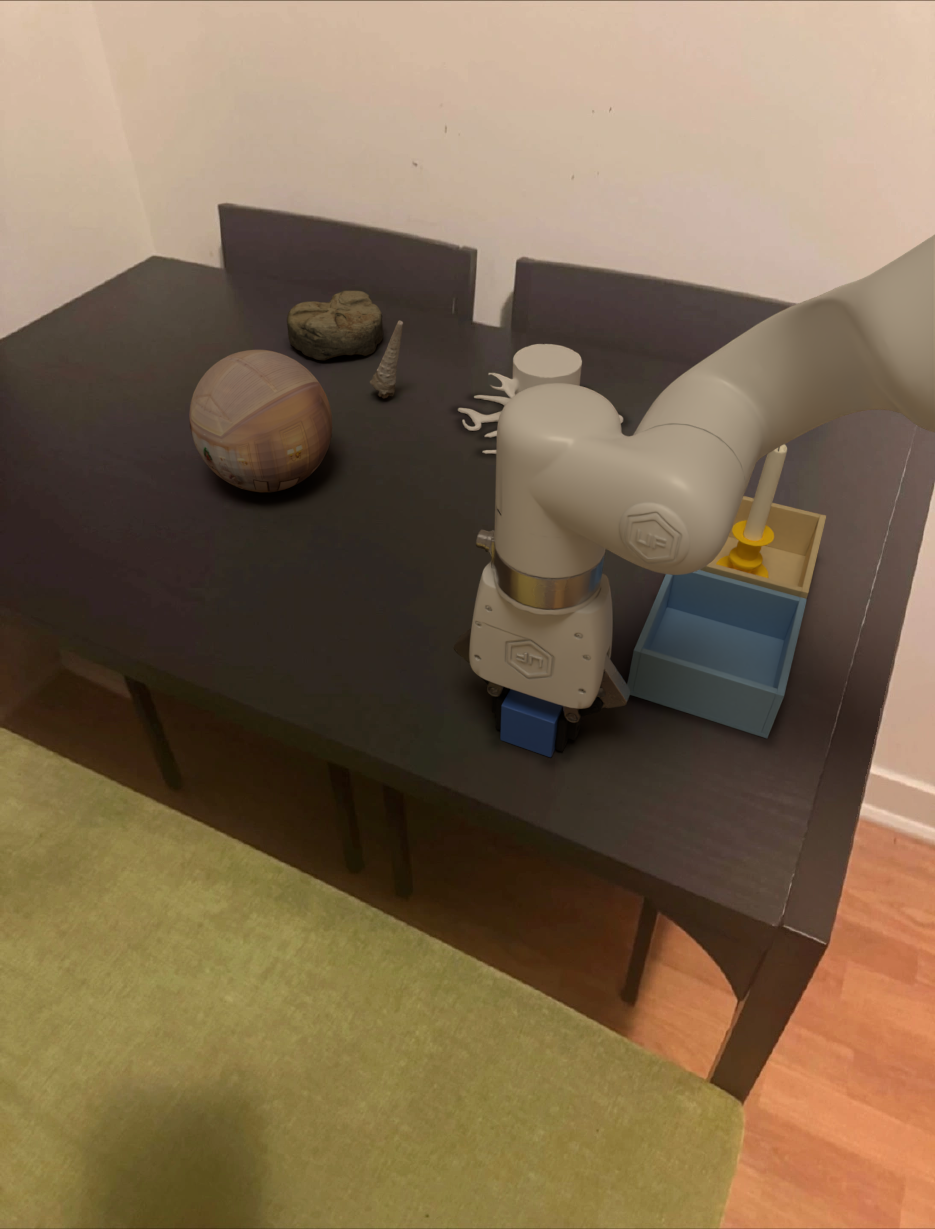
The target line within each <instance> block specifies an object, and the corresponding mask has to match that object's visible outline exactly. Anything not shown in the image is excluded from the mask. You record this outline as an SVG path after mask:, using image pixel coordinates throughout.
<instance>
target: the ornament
mask: <svg viewBox="0 0 935 1229" xmlns="http://www.w3.org/2000/svg"><path fill="white" fill-rule="evenodd" d="M188 414H189V416H188V417H189V418H188V419H189V429H190V430H189V431H190V435H191V437H192V441H193V444H194V447H195V448H196V451H197V453H198V454H199V456H200V458H201V459H202V461H203V462H204V463H205V464H206V466H207V467H208V468H209V469H210V470H211V471H212V472H213V473H214V474H215V475H216V476H218V477H219V478H220V479H222V480H223V481H224V482H226V483H228V484H230V485H232V486H234V487H236V488H239V489H242V490H246V491H250V492H254V493H274V492H279V491H284V490H286V489H287V490H288V489H289V488H292V487H295V486H296V485H299V484H300V483H302V482H303V481H305V480H307V479H308V478H309V477H310V476H311V475H312V474H313V473H314V472H315V471H316V470H317V469H318V467H319V466H320V464H321V463H322V462H323V460H324V459H325V456H326V454H327V452H328V450H329V448H330V443H331V440H332V435H333V434H332V432H333V415H332V409H331V405H330V402H329V400H328V396H327V393H326V392H325V391H324V388H323V387H322V385H321V383H320V382H319V381H318V379H317V378H316V376H315V375H314V374H313V373H312V372H311V371H310V370H309V369H308V368H306V367H305V366H304V365H303V364H301V363H300V362H299V361H297V360H296V359H294V358H293V357H290V356H288V355H286V354H283V353H280V352H278V351H277V352H276V351H274V350H273V351H272V350H266V349H248V350H243V351H238V352H235V353H232V354H229V355H227V356H225V357H223V358H221V359H220V360H218V361H217V362H215V363H214V364H213V365H212V366H211V367H210V368H209V369H208V370H207V371H205V373H204V374H203V376H202V377H201V378H200V380H199V381H198V383H197V385H196V387H195V389H194V391H193V394H192V397H191V400H190V405H189V412H188Z"/></svg>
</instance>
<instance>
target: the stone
mask: <svg viewBox="0 0 935 1229" xmlns="http://www.w3.org/2000/svg"><path fill="white" fill-rule="evenodd" d="M286 325H287V326H286V327H287V336H288V337H287V338H288V341H289V344H290V345H291V346H292V347H294V349H296V350H297V351H300V352H301V353H302V354H303V355H304V356H306V357H308V358H313V359H314V360H318V361H327V360H330V359H332V358H335V357H340V356H354V355H361V356H364V357H365V356H369V355H372V354H373V353H375V351H376V349H377V345H378V344H380V343H381V342H382V340H383V336H384V335H383V333H384V328H383V326H384V324H383V313H382V311H381V309H380V308H379V307H378V305H377V304H375V303H373V300H372V298H371V295H369V294H368V293H366V292H364V291H361V290H343V291H341V292H340V291H339V292H337V293H335V294H333V295H332V296H331V299H330V300H329V301H327V302H326V301H325V302H324V301H322V302H319V301H303V302H300V303H297V304H295V305H294V306H293V307H292V308H291V309H290V310H289V311H288V312H287V315H286Z"/></svg>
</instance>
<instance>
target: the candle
mask: <svg viewBox="0 0 935 1229" xmlns="http://www.w3.org/2000/svg"><path fill="white" fill-rule="evenodd" d="M787 452H788V447H787V445H786V444H784V445H782V446H780V447H779V448H777V449H775V450H773V451H772V452H770V453H768V454H767V455H766V457H765V460H764V464H763V466H762V470H761V474H760V476H759V480H758V484H757V487H756V490H755V492H754V493H755V494H754V497H753V498H754V500H753V503H752V507H751V510H750V513H749V517H748V520H744V521H740V522H738V523H736V524H735V525H734V526H733V528H732V533H733V535H734V537H735V538H736V539H737V540H738V543H737V547H735V548H733V549H732V550H731V551H730V553H729V555H728V556H724V557H722V558H720V559H719V560H718V561H717V562H716V565H720V566H724V567H728V568H731V569H735V570H739V571H743V572H746V573H750V574H754V575H758V576H761V577H765V578H769V574H768V571H767V569H766V567H765V566H764V565H763V564H762V561H763V557H762V555H761V553H760V551H761V546H765V545H768V544H770V543H771V542H772V541H773V539H774V533H773V531H772V530H771V529H770V527H768V526H767V525H766V522H767V518H768V515H769V512H770V508H771V505H772V503H774V502H773V501H774V498H775V494H776V493H777V492H776V491H777V489H778V484H779V482H780V478H781V475H782V470H783V468H784V465H785V461H786V457H787Z"/></svg>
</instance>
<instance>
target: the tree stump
mask: <svg viewBox="0 0 935 1229" xmlns="http://www.w3.org/2000/svg"><path fill="white" fill-rule="evenodd" d="M582 364H583V359H582V357H581V355H580V354H579V353H578V352H577V351H574V350H573V349H571V348H570V347H567V346H564V345H559V344H552V343H544V344H543V343H536V344H531V345H528V346H525V347H523V348H520V349H519V350H517V352H516V353H515V354H514V355H513V358H512V375H511V376H512V378H509V377H508V376H504V375H502V374H500V373H496V372H488V374H487V375H488V376H490V375H492V376H493V377H496V378H497V379H498V380H499V381H500V383H501V386H494V385H493V384H489V387H491V388H492V389H493V390H495V391H502V392H504V393H505V394H506V395H507V396H508V397H507V396H499V395H498V396H497V395H486V394H477V395H473V398H474V399H479V400H480V399H481V400H484V401H490V402H495V403H498V404H501V405H503V407H504V406H505V405H506V404H507V402H508V401H509V400H510V399H511V398H512V397H513V396H515V395H516V394H518V393H520V392H521V391H523V390H525V389H528V388H531V387H533V386H537V385H542V384H551V383H564V384H573V385H578V386H581V374H582ZM457 411H458V412H460V413H461V414H466V415H467V416H468V417H469V418H470V419H471V420H472V423H474V426H470V425H468V424H467V423H466V420H465V419H462V421H461V422H462V425H463V426H464V428H465V429H467V430H468V431H471V432H472V431H473V432H475V431H479V430H481V429H482V424H483V423H495V422H496V423H498V420H499V416H500V414H501V412H502V410H500V411H498V412H494V413H491V414H484V413H481V412H478V411H476V410H474V409H472V408H466V407H458V408H457ZM618 415H619V418H620V422H621V424H622V423H624V417H623V416H622V415H621V414H619V413H618ZM483 436H484V438H494V437H497V429H496V430H494V431H491V432H488V433H486V434H485V435H483ZM482 453H483V454H485V455H487V454H488V455H496V449H486V450H482Z"/></svg>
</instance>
